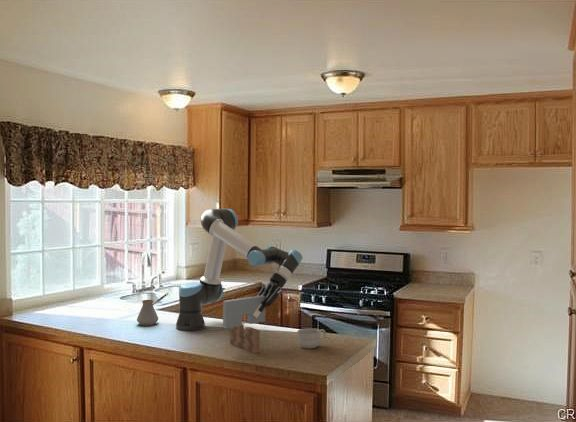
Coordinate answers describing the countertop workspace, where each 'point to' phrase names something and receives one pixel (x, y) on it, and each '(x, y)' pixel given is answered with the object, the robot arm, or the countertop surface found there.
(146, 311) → the coffee pot
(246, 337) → the walnut board
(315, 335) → the teacup
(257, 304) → the slate plate
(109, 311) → the countertop surface
